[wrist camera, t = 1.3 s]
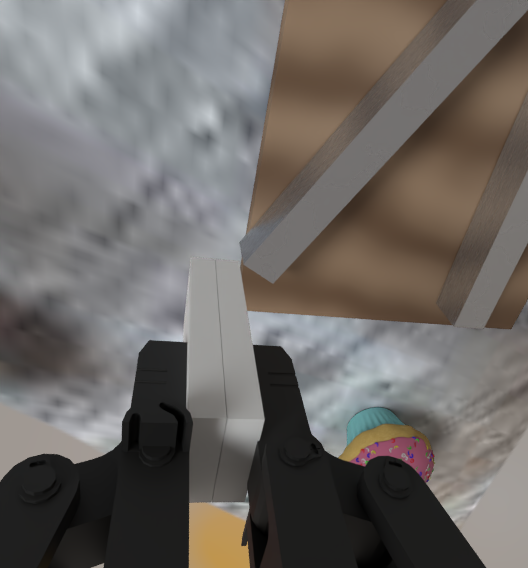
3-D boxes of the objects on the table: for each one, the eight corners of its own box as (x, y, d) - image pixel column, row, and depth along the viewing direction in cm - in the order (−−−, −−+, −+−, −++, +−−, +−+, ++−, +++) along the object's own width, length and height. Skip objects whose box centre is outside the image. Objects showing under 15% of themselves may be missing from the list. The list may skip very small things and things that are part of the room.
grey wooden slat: (477, -36, 24) (509, -38, 22) (502, -1, 25) (536, 0, 23) (239, 242, 31) (243, 264, 29) (266, 260, 32) (273, 283, 30)
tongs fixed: (526, -134, 22) (571, -151, 20) (652, -97, 24) (709, -108, 21) (374, 297, 35) (389, 323, 33) (463, 304, 37) (484, 329, 34)
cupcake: (430, 416, 45) (497, 538, 35) (365, 464, 48) (411, 590, 38) (373, 378, 42) (430, 503, 31) (307, 433, 44) (340, 563, 34)
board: (332, -280, 20) (339, -295, 19) (750, -142, 24) (773, -147, 23) (234, 300, 35) (235, 309, 34) (503, 320, 40) (511, 329, 39)
